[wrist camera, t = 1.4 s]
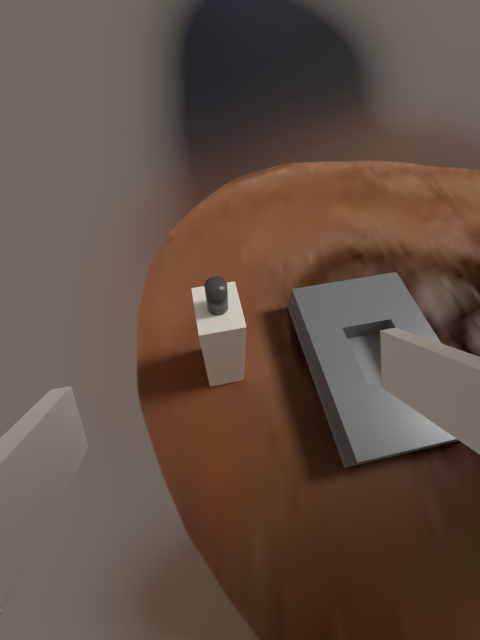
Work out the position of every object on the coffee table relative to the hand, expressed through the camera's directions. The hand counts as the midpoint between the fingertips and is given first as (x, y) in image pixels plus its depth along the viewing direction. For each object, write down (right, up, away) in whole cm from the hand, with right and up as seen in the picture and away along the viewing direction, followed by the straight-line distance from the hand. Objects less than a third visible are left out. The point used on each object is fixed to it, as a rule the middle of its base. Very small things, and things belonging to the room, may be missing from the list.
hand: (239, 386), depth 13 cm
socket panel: (+15, -3, +24) cm, 28 cm away
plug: (-2, -2, +24) cm, 24 cm away
